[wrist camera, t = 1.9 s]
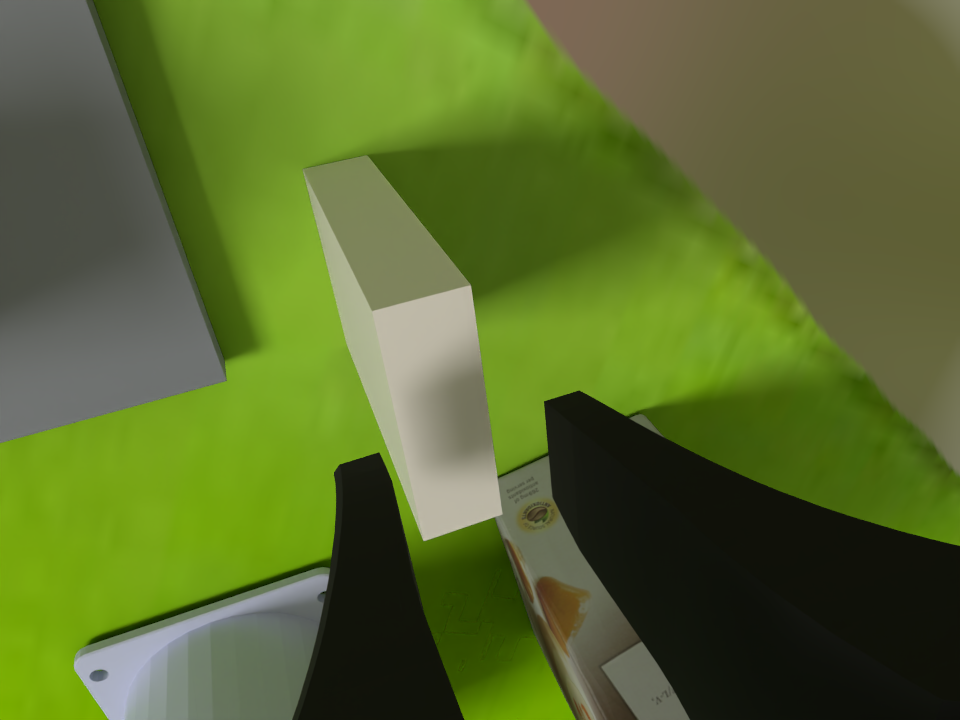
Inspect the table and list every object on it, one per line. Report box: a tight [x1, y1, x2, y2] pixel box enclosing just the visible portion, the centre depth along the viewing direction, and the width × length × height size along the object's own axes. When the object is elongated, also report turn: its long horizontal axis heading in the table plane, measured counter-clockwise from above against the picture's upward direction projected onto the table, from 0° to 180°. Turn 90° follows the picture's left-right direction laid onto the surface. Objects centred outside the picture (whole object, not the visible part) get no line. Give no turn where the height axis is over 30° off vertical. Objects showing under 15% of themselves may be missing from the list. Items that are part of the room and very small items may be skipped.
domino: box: [303, 155, 502, 541], centre depth 16 cm, size 5×2×8 cm, turn 6°
